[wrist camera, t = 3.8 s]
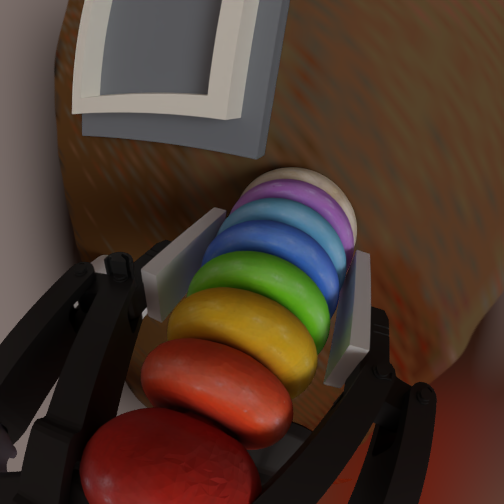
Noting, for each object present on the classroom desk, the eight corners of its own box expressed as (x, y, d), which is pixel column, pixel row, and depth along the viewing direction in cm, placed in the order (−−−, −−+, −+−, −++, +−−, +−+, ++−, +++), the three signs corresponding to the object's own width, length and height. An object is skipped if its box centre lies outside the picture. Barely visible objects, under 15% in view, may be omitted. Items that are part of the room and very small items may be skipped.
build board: (264, 154, 16) (243, 166, 14) (94, 131, 20) (64, 141, 17) (302, -73, 6) (289, -99, 4) (119, -39, 10) (91, -46, 7)
